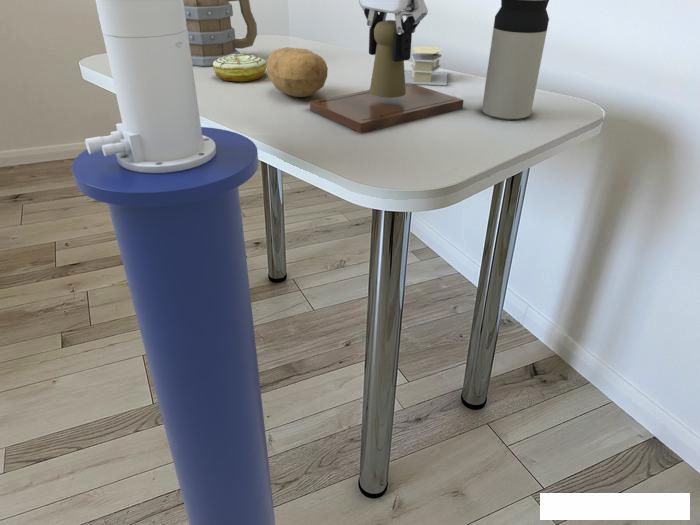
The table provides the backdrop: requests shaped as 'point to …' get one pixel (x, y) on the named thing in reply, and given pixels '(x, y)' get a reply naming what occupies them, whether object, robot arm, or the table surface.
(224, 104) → the table surface
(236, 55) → the decorated donut
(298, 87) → the potato
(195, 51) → the tankard
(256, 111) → the table surface
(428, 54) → the stacked layers on plate
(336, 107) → the cutting board
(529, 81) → the travel mug
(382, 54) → the olive tapered rounded piece
